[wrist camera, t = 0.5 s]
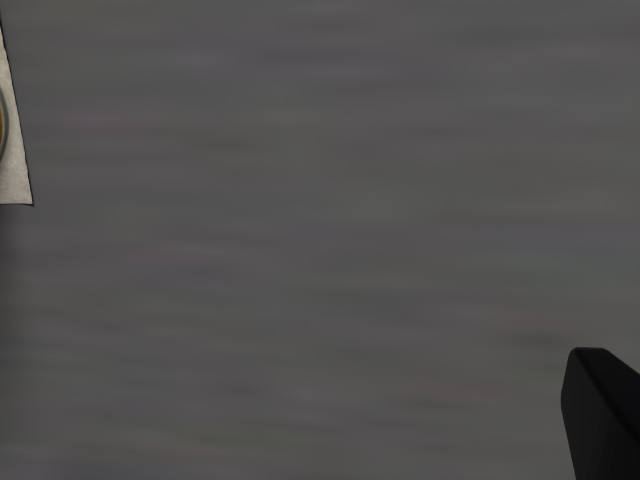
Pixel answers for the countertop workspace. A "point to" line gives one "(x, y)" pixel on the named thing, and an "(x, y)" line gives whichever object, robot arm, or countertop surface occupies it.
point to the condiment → (11, 142)
